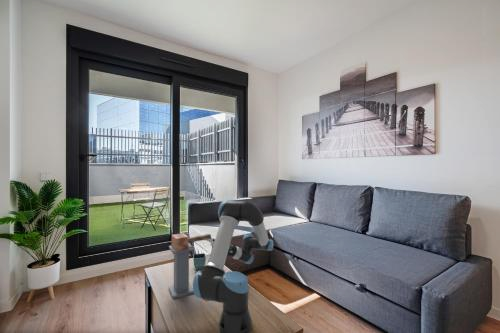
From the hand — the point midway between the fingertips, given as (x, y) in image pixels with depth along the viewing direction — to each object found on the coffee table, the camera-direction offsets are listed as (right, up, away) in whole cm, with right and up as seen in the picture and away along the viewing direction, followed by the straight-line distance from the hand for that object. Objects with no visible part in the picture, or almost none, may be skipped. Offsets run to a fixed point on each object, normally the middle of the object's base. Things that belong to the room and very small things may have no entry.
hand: (207, 239), depth 145 cm
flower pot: (-10, -28, +22) cm, 37 cm away
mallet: (-8, -2, -5) cm, 10 cm away
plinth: (-14, -28, -9) cm, 32 cm away
